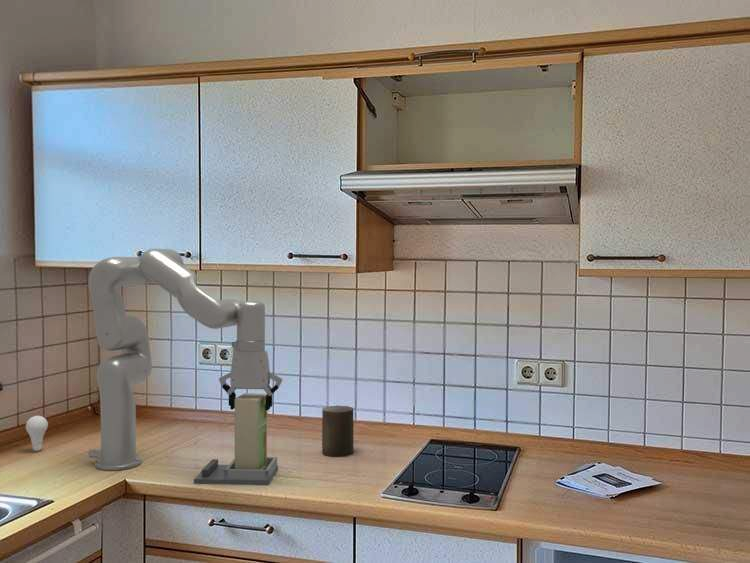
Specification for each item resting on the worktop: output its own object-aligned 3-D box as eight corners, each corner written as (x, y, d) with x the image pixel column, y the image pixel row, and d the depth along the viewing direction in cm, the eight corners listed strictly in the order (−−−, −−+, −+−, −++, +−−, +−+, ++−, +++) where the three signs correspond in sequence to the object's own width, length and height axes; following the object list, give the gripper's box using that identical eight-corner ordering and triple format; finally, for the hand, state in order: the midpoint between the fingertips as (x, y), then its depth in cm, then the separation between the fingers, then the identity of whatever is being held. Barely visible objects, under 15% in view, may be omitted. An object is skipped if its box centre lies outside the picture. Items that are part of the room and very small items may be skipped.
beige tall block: (260, 477, 186) (259, 399, 185) (234, 475, 187) (233, 398, 186) (269, 468, 194) (269, 393, 193) (244, 467, 195) (244, 392, 194)
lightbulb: (49, 447, 219) (48, 413, 218) (46, 452, 213) (46, 417, 213) (27, 449, 217) (27, 414, 217) (24, 454, 211) (24, 418, 211)
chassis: (193, 483, 184) (193, 469, 184) (208, 468, 198) (208, 455, 197) (268, 485, 183) (268, 471, 183) (278, 469, 196) (278, 456, 196)
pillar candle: (350, 457, 208) (350, 407, 208) (318, 456, 210) (318, 406, 209) (356, 449, 218) (356, 401, 218) (325, 447, 219) (325, 400, 219)
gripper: (215, 347, 186) (215, 411, 186) (279, 348, 185) (279, 412, 185) (223, 344, 193) (223, 405, 194) (284, 345, 192) (284, 406, 193)
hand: (250, 408), depth 190 cm, fingers open, 9 cm apart
